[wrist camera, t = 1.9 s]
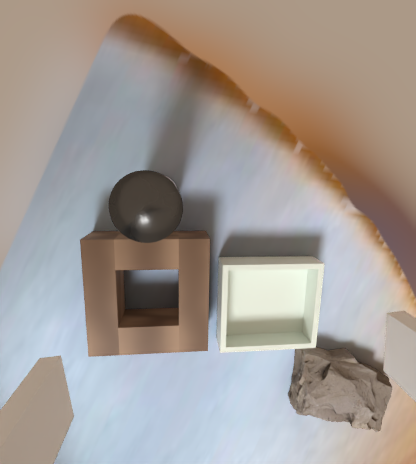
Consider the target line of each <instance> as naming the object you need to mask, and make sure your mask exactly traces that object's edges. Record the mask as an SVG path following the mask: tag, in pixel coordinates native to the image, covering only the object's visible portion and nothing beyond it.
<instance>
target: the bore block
mask: <svg viewBox="0 0 416 464" xmlns="http://www.w3.org/2000/svg"><path fill="white" fill-rule="evenodd" d="M80 244H81V258H82V272H83V286H84V300H85V314H86V327H87V341H88V355H89V357H91V356H111V355H131V354H151V353H171V352H191V351H208V314H209V265H210V238H209V236H208V234H207V232H206V231H173V232H172V233H171V234H170V235H169V236H168V237H166V238H164V239H162V240H160V241H157V242H152V243H141V242H137V241H134V240H131V239H129V238H127V237H126V236H124V235H123V234H122V233H121V232H120V231H93V232H91V233H90V234H88V235H87V236H85V237H84V238H82V239H81V240H80ZM162 269H179V308H150V309H125V289H124V270H162Z"/></svg>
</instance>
